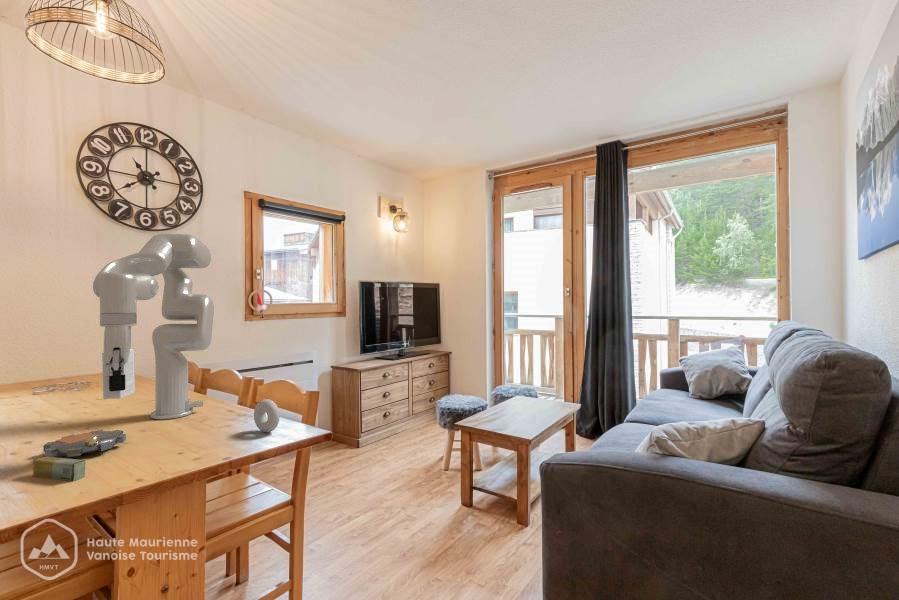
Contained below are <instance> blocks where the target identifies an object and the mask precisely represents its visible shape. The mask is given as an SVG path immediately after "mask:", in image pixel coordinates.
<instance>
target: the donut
mask: <svg viewBox="0 0 899 600" xmlns="http://www.w3.org/2000/svg"><path fill="white" fill-rule="evenodd" d="M280 417H281V416H280V410H279V407H278V405H277V404H276V402H274V401H273V400H272V399H266V398H264V399H262V400H259V402H257V404H256V405H255V408H254V411H253V420H254V423H255V426H256V428H257V429H259V431H261V432H263V433H271V432H273V431H275V430H276V428H277V427H278V426H279V422H280Z"/></svg>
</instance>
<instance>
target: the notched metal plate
mask: <svg viewBox="0 0 899 600" xmlns="http://www.w3.org/2000/svg"><path fill="white" fill-rule="evenodd" d="M125 441H127V433H124V430H120V429H116V430H103V429H98V430H91V431H90V432H83V433H80V434H74V433H72V434H69V435H65V436H61V438H60V439H56V440H55V441H48V442H46V443H45V444H44V445H43V446H42V447H43V448H42V449H43V452H44V457H56V456H66V458H70V457H79V456H82V455H84V454H83V453H86V454H90V453H89V452H91V453H95V452H103V451H106V450H110V449H113V446H115V445H117V444H123V443H125Z"/></svg>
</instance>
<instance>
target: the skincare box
mask: <svg viewBox="0 0 899 600" xmlns="http://www.w3.org/2000/svg"><path fill="white" fill-rule="evenodd" d="M103 355H104V352H102V356H101V357H102V361H103ZM120 355H121V351H120ZM110 362H111V360H110ZM121 362H122V361H121V360H120V359H119V363H121ZM124 374H125V390H122V391H112V392H110V391H109V376H110V363H107V364H106V365H104V364H103V363H102V396H103V397H102V399H103V400H108V399H109V400H112V399H113V400H114V399H116V400H117V399H122V398H125V397H128V396H129V395H132V394H135V392H136V389H135V388H136V387H135V386H136V385H135V384H136V383H135V379H136V378H135V349H133V348H131V350H130V356H129V360H128V362H127V363H126V364H125V365H124Z"/></svg>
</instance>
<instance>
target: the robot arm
mask: <svg viewBox="0 0 899 600" xmlns="http://www.w3.org/2000/svg"><path fill="white" fill-rule="evenodd" d="M211 262H212V254H211V251H210V248H209V247H208V246H207V245H206V244H205V243H204V242H203V241H202V240H201V239H199V237H197V236H195V235H192V234H186V233H183V234H181V233H163V232H162V233H157V234H154V235H153V236H151V238H150V239H149V240H148V241H147V242H146V243H145V245H144V246H143V247H142V248H141V249H140V250H139V252H135V253H132V254H129V255H126V256H123V257H121V258H117V259H115V260H112V261H111V262H109V263H107V264H106V265H104V267H103V268H101V270H100V271H99V272H98V273H97V274H96V276H95V278H94V279H93V283H92V291H93V293H94V295H95V296H97V298H99V327H103V328H104V334H103V353H104V355H103V360H102V365H103V364H104V365H106V364H107V363H110V376H109V391H110V392H112V391H122V390H125V374H124V365H125V364H126V363H127V362H128V360H129V356H130V350H131V349H132V327H133V326H137V321H138V319H137V318H138V317H137V308H138V307H137V301H147V300H151V299H153V298H154V297H156V295H157V294H158V292H159V287H160V286H159V282H158V281H157V279H156V278H155V276H159V275H162V276H163V281H164V282H163V283H164V285H163V296H162V300H161V301H162V303H161V316H162V317H163V319H165V320H167V321H172V322H173V321H175V322H177V321H178V322H182V321H183V322H184V321H185V322H189V321H190V322H191V321H192V322H196V323H165V324H160V325H158V326H156V327H155V329H154V328H153V329H154V330H153V331H152V335H151V339H152V340H151V341H152V345H153V350H154V351H153V352H154V360H155V371H154V373H155V374H154V375H155V378H154V379H155V380H154V382H155V383H154V384H155V385H154V387H155V389H154V390H155V391H154V392H155V393H154V395H155V397H154V398H155V399H154V400H155V404H154V405H155V406H154V409H155V410H154V411H151V412H150V413H149V418H150V419H152V420H171V419H177V418H182V417H187V416H189V415H191V414H192V413H193V412H194V408H201V407H204V401H203V400H201V401H199V400H194V401H192V400H190V398H189V362H188V360H187V358H186V357H185V355H184V354H183V353H182V352H186V351H187V352H191V351H192V352H193V351H194V352H195V351H196V352H197V351H204V350H207V349H208V348H209V347H210V346H211V343H212V336H213V335H212V334H213V326H214V313H215V310H214V309H215V305H214V301H213V299H212V297H210V296H209V295H207V294H197V293H195V294H193V285H194V284H193V280H192V279H191V277H190V276H189V275H188V273H186V272H185V271H184V270H183V269H205V268H207V267H209V266H210V264H211ZM120 351H121V355H120ZM119 359H120V360H121V361H122V362H121V363H119ZM110 360H111V362H110Z"/></svg>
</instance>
